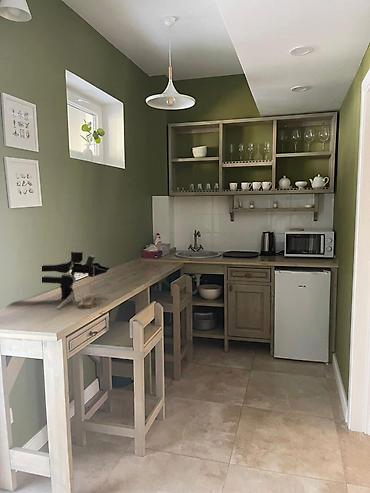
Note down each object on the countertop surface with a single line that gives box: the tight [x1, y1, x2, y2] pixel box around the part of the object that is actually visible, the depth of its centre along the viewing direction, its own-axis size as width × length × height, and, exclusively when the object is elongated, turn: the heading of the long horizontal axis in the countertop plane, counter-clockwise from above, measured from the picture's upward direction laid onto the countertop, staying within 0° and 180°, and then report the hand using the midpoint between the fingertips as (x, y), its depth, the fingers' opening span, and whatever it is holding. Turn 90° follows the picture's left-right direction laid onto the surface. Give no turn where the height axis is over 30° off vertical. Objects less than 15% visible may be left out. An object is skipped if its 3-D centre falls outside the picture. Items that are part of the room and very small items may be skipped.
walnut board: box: [78, 294, 96, 309], centre depth 220 cm, size 6×24×2 cm, turn 8°
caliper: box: [55, 292, 75, 311], centre depth 215 cm, size 20×1×6 cm, turn 170°
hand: (107, 269), depth 234 cm, fingers open, 9 cm apart
